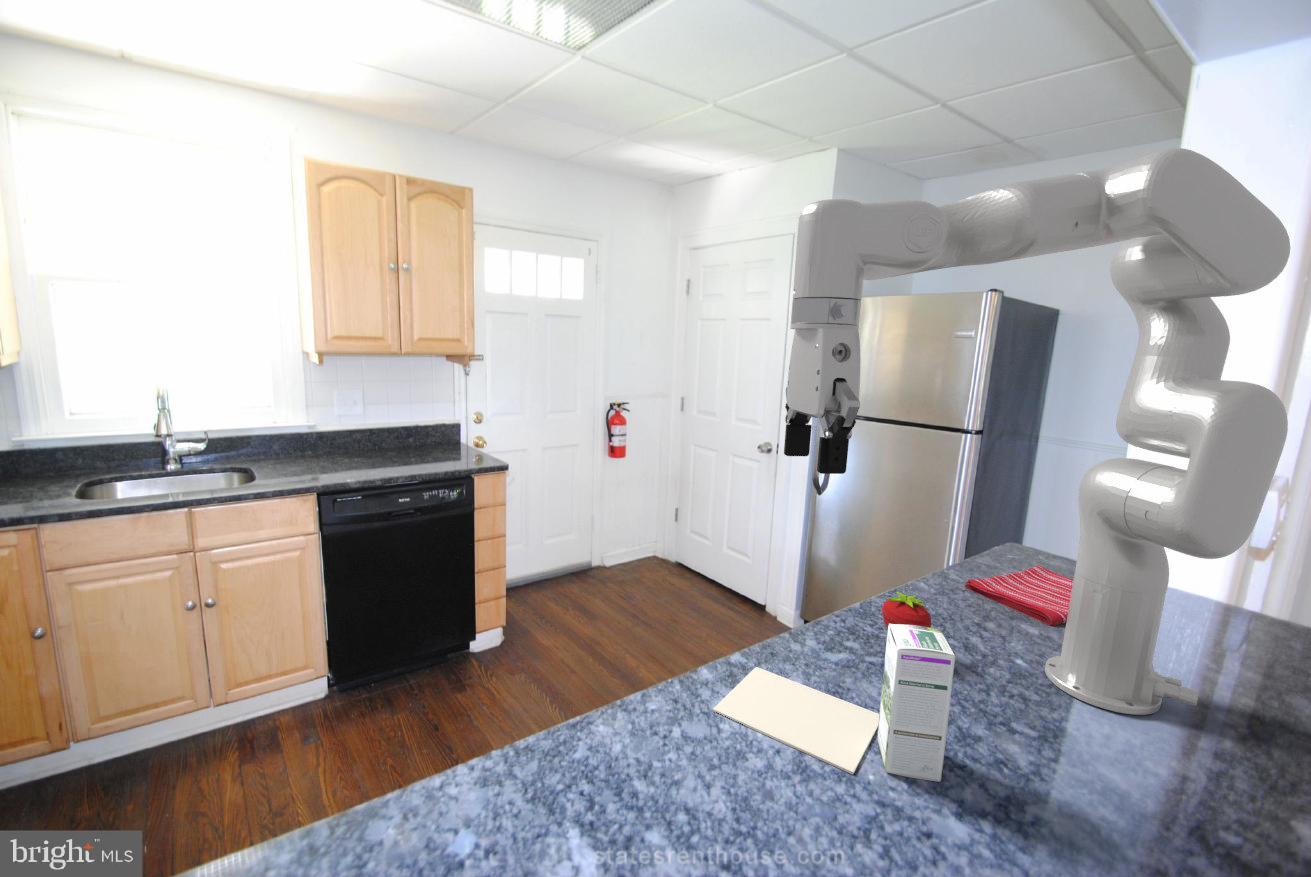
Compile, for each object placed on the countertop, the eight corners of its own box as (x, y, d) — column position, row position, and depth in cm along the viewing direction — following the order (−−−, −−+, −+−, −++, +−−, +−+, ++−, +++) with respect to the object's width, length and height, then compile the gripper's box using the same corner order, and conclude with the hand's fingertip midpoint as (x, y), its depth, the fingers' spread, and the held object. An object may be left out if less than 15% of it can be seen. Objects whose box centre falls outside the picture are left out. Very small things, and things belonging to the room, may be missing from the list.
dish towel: (960, 590, 111) (961, 577, 111) (1036, 573, 121) (1038, 561, 121) (1052, 631, 96) (1054, 616, 96) (1130, 608, 106) (1133, 594, 106)
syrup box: (942, 784, 60) (960, 654, 58) (882, 773, 61) (897, 646, 59) (928, 747, 66) (944, 628, 63) (873, 738, 67) (887, 620, 64)
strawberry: (907, 666, 82) (915, 600, 81) (868, 640, 89) (875, 579, 88) (937, 658, 85) (945, 594, 83) (897, 634, 92) (904, 574, 90)
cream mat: (883, 717, 71) (883, 715, 70) (853, 774, 61) (853, 772, 61) (755, 668, 80) (756, 666, 80) (712, 711, 70) (712, 708, 70)
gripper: (897, 315, 58) (880, 481, 61) (822, 321, 75) (811, 450, 78) (827, 312, 57) (813, 481, 60) (767, 318, 74) (758, 450, 77)
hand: (812, 463), depth 69 cm, fingers open, 9 cm apart
